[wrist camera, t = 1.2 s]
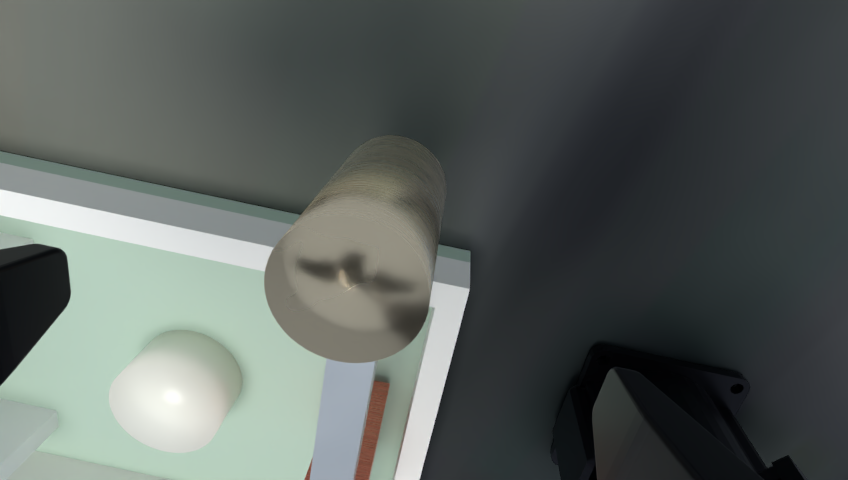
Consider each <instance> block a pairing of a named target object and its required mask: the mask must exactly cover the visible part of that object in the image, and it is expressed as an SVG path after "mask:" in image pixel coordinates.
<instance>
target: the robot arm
mask: <svg viewBox="0 0 848 480" xmlns="http://www.w3.org/2000/svg"><path fill="white" fill-rule="evenodd" d="M70 297H71V286H70V277H69V268H68V259H67V255H66V253H65V252H64V251H63V250H62V249H60V248H57V247H52V246H47V245H43V244H28V245H23V246H17V247H11V248H5V249H0V386H1V385H2V384H3V383H4V382H5V381H6V379H7V378H8V377H9V376H10V375H11V374H12V372H13V371H14V370H15V369H16V368H17V367H18V365H19V364H20V363H21V362H22V361H23V359H24V358H25V357H26V356H27V354H28V353H29V352H30V351H31V350H32V348H33V347H34V346H35V345H36V344H37V342H38V341H39V340H40V339H41V337H42V336H43V335H44V334H45V333H46V331H47V330H48V329H49V328H50V327H51V325H52V324H53V323H54V322H55V320H56V319H57V318H58V317H59V316H60V314H61V313H62V312H63V311H64V310H65V308H66V307H67V305H68V303H69V301H70ZM602 355H606V356H607V357H606V358H605V359H598V358H599V357H600V356H602ZM735 384H738V385H737V386H735V387H732V385H735ZM749 390H750V385H749V383H748V381H747V380H746V379H745V377H744V376H743V375H742V374H739V373H736V372H732V371H727V370H722V369H717V368H713V367H708V366H703V365H699V364H694V363H689V362H685V361H680V360H675V359H670V358H666V357H661V356H656V355H652V354H647V353H642V352H638V351H633V350H628V349H623V348H619V347H614V346H609V345H602V344H600V345H597V346H595V347H593V348H592V349H591V350H590V352H589V354H588V357H587V359H586V362H585V364H584V367H583V369H582V372H581V374H580V377H579V379H578V382H577V384H576V386H573V387H571V388H570V389H569V390H568V393H567V395H566V398H565V400H564V403H563V405H562V408H561V410H560V413H559V415H558V418H557V421H556V423H555V426H554V428H553V438H554V442H553V444H552V447H551V451H550V453H551V459H552V461H553V462H554V463H555V464H556V465H559V471H560V476H561V480H807V478H806V477H805V476H804V474H803V473H802V472H801V471H800V469H799V468H798V467H797V465H796V464H795V463H794V462H793V460H792V459H791V458H790V457H789V455H787V456H785V457H783V458H781V459H778V460H776V461H774V462H772V464H773V466H772V467H769V468H767V467H766V466H765V464H764V462H763V461H762V459H761V458H760V456H759V455H758V453H757V451H756V450H755V448H754V447H753V445H752V443H751V442H750V440H749V439H748V437H747V436H746V434H745V432H744V431H743V429H742V428H741V426H740V424H739V423H738V421H737V420H736V418H735V417H734V416H735V415H736V413H737V411H738V409H739V408H740V406H741V404H742V403H743V401H744V399H745V397H746V396H747V394H748V392H749Z"/></svg>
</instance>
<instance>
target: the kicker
mask: <svg viewBox="0 0 848 480" xmlns="http://www.w3.org/2000/svg"><path fill="white" fill-rule="evenodd" d="M445 198H446V179H445V175H444V172H443V169H442V167H441V165H440V163H439V162H438V160H437V159H436V157H435V156H434V155H433V154H432V153H431V152H430V151H429V150H428V149H427V148H426V147H425V146H423V145H422V144H420V143H418V142H417V141H414V140H412V139H410V138H406V137H403V136H396V135H387V136H380V137H376V138H373V139H371V140H368V141H366V142H365V143H363V144H361V145H360V146H359V147H358V148H356V149H355V151H354V152H353V153H352V154H351V155H350V156H349V157H348V159H347V160H346V161H345V162H344V163H343V165H342V166H341V167H340V168H339V169H338V171H337V172H336V173H335V174H334V175H333V177H332V178H331V179H330V180H329V181H328V183H327V184H326V185H325V186H324V188H323V189H322V190H321V191H320V192H319V194H318V195H317V196H316V197H315V198H314V200H313V201H312V202H311V203H310V204H309V206H308V207H307V208H306V209H305V210H304V212H303V213H302V214H301V215H300V216H299V218H298V219H297V220H296V221H295V222H294V224H293V225H292V226H291V227H290V229H289V230H288V231H287V232H286V233H285V235H284V236H283V237H282V238H281V239H280V241H279V242H278V243H277V245H276V246H275V247H274V249H273V250H272V252H271V254H270V256H269V258H268V261H267V265H266V268H265V275H264V289H265V295H266V299H267V303H268V306H269V308H270V310H271V312H272V315H273V316H274V318H275V320H276V321H277V323H278V324H279V325H280V327H281V328H282V329H283V331H284V332H285V333H286V334H287V335H288V336H289V337H290V338H291V339H293V340H294V341H295V342H296V343H298V344H299V345H300V346H302V347H304V348H305V349H307V350H308V351H310V352H312V353H314V354H316V355H319V356H321V357H324V358H327V359H326V366H325V373H324V380H323V387H322V394H321V402H320V409H319V416H318V423H317V430H316V437H315V445H314V452H313V457H312V460H311V463H310V466H309V468H308V471H307V474H306V477H305V480H370V476H371V471H372V467H373V462H374V458H375V453H376V448H377V444H378V439H379V434H380V429H381V424H382V420H383V415H384V410H385V405H386V400H387V396H388V391H389V386H390V384H389V383H385V382H380V381H375V380H374V378H375V373H376V368H377V362H378V360H381V359H384V358H387V357H389V356H392V355H394V354H396V353H397V352H399V351H401V350H402V349H404V348H405V347H406V346H407V345H409V344H410V343H411V342H412V341H413V340H414V339H415V338H416V336H417V335H418V333H419V332H420V331H421V329H422V327H423V325H424V323H425V321H426V318H427V315H428V311H429V304H430V297H431V291H432V284H433V278H434V271H435V264H436V258H437V251H438V245H439V238H440V231H441V225H442V218H443V211H444V205H445Z"/></svg>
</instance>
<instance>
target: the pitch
mask: <svg viewBox="0 0 848 480" xmlns="http://www.w3.org/2000/svg"><path fill="white" fill-rule="evenodd" d="M299 216H300V215H298V214H294V213H289V212H284V211H279V210H275V209H270V208H265V207H261V206H256V205H251V204H247V203H242V202H237V201H232V200H228V199H223V198H218V197H214V196H209V195H204V194H200V193H195V192H190V191H185V190H181V189H176V188H171V187H167V186H162V185H157V184H153V183H148V182H143V181H138V180H134V179H129V178H124V177H120V176H115V175H110V174H106V173H101V172H96V171H91V170H87V169H82V168H77V167H73V166H68V165H63V164H59V163H54V162H49V161H44V160H40V159H35V158H30V157H26V156H21V155H16V154H11V153H7V152H2V151H0V249H5V248H11V247H17V246H23V245H28V244H43V245H47V246H52V247H57V248H60V249H62V250H63V251H64V252H65V253H66V255H67V259H68V268H69V277H70V286H71V297H70V301H69V303H68V305H67V307H66V308H65V310H64V311H63V312H62V313H61V314H60V316H59V317H58V318H57V319H56V320H55V322H54V323H53V324H52V325H51V327H50V328H49V329H48V330H47V331H46V333H45V334H44V335H43V336H42V337H41V339H40V340H39V341H38V342H37V344H36V345H35V346H34V347H33V348H32V350H31V351H30V352H29V353H28V354H27V356H26V357H25V358H24V359H23V361H22V362H21V363H20V364H19V365H18V367H17V368H16V369H15V370H14V371H13V372H12V374H11V375H10V376H9V377H8V378H7V379H6V381H5V382H4V383H3V384H2V385H1V386H0V480H305V477H306V474H307V471H308V468H309V466H310V463H311V460H312V457H313V452H314V445H315V437H316V430H317V423H318V416H319V409H320V402H321V394H322V387H323V380H324V373H325V366H326V359H327V358H324V357H321V356H319V355H316V354H314V353H312V352H310V351H308V350H307V349H305V348H304V347H302V346H300V345H299V344H298V343H296V342H295V341H294V340H293V339H291V338H290V337H289V336H288V335H287V334H286V333H285V332H284V331H283V329H282V328H281V327H280V325H279V324H278V323H277V321H276V320H275V318H274V316H273V315H272V312H271V310H270V308H269V306H268V303H267V299H266V295H265V289H264V275H265V268H266V265H267V261H268V258H269V256H270V254H271V252H272V250H273V249H274V247H275V246H276V245H277V243H278V242H279V241H280V239H281V238H282V237H283V236H284V235H285V233H286V232H287V231H288V230H289V229H290V227H291V226H292V225H293V224H294V222H295V221H296V220H297V219H298V218H299ZM470 252H471V251H468V250H463V249H458V248H453V247H449V246H444V245H438V251H437V258H436V264H435V271H434V278H433V284H432V291H431V297H430V304H429V311H428V315H427V318H426V321H425V323H424V325H423V327H422V329H421V331H420V332H419V333H418V335H417V336H416V338H415V339H414V340H413V341H412V342H411V343H410V344H409V345H407V346H406V347H405V348H404V349H402V350H401V351H399V352H397V353H396V354H394V355H392V356H389V357H387V358H384V359H381V360H378V362H377V368H376V373H375V378H374V380H375V381H380V382H385V383H389V384H390V386H389V391H388V396H387V400H386V405H385V410H384V415H383V420H382V424H381V429H380V434H379V439H378V444H377V448H376V453H375V458H374V462H373V467H372V471H371V476H370V480H419V479H420V476H421V472H422V468H423V464H424V461H425V457H426V453H427V449H428V445H429V442H430V438H431V434H432V430H433V427H434V423H435V419H436V415H437V411H438V408H439V404H440V400H441V396H442V393H443V389H444V385H445V381H446V377H447V374H448V370H449V366H450V362H451V359H452V355H453V351H454V347H455V343H456V340H457V336H458V332H459V328H460V325H461V321H462V317H463V313H464V309H465V306H466V302H467V298H468V294H469V291H470ZM173 330H188V331H194V332H198V333H201V334H204V335H206V336H208V337H210V338H212V339H214V340H216V341H217V342H219V343H220V344H221V345H223V346H224V347H225V348H226V349H227V350H228V351H229V352H230V353H231V354H232V355H233V357H234V358H235V360H236V361H237V363H238V365H239V367H240V370H241V374H242V389H241V392H240V394H239V396H238V398H237V399H236V401H235V403H234V404H233V406H232V407H231V409H230V411H229V412H228V414H227V416H226V417H225V419H224V421H223V422H222V424H221V426H220V427H219V429H218V431H217V432H216V434H215V436H214V437H213V439H212V440H211V441H210V442H209V443H208V444H207V445H205V446H204V447H202V448H200V449H198V450H195V451H192V452H186V453H171V452H165V451H161V450H157V449H154V448H151V447H149V446H147V445H145V444H143V443H141V442H139V441H138V440H136V439H135V438H133V437H132V436H131V435H130V434H128V433H127V432H126V431H125V430H124V429H123V428H122V427H121V426H120V424H119V423H118V422H117V420H116V419H115V417H114V415H113V413H112V411H111V408H110V404H109V390H110V387H111V384H112V382H113V381H114V379H115V378H116V377H117V376H118V375H119V374H120V373H121V372H122V371H123V370H124V369H125V368H126V367H127V366H128V365H129V364H130V362H131V361H132V360H133V359H134V358H135V357H136V356H137V355H138V354H139V353H140V352H141V351H142V350H143V349H144V348H145V347H146V346H147V345H148V344H149V343H150V342H151V341H152V340H153V339H154V338H155V337H157V336H158V335H160V334H162V333H165V332H168V331H173Z"/></svg>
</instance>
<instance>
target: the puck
mask: <svg viewBox="0 0 848 480" xmlns="http://www.w3.org/2000/svg"><path fill="white" fill-rule="evenodd" d="M241 389H242V374H241V370H240V367H239V365H238V363H237V361H236V360H235V358H234V357H233V355H232V354H231V353H230V352H229V351H228V350H227V349H226V348H225V347H224V346H223V345H221V344H220V343H219V342H217V341H216V340H214V339H212V338H210V337H208V336H206V335H204V334H201V333H198V332H194V331H188V330H173V331H168V332H165V333H162V334H160V335H158V336H157V337H155V338H154V339H153V340H152V341H151V342H150V343H149V344H148V345H147V346H146V347H145V348H144V349H143V350H142V351H141V352H140V353H139V354H138V355H137V356H136V357H135V358H134V359H133V360H132V361H131V362H130V364H129V365H128V366H127V367H126V368H125V369H124V370H123V371H122V372H121V373H120V374H119V375H118V376H117V377H116V378H115V379H114V381H113V382H112V384H111V387H110V390H109V404H110V408H111V411H112V413H113V415H114V417H115V419H116V420H117V422H118V423H119V424H120V426H121V427H122V428H123V429H124V430H125V431H126V432H127V433H128V434H130V435H131V436H132V437H133V438H135V439H136V440H138V441H139V442H141V443H143V444H145V445H147V446H149V447H151V448H154V449H157V450H161V451H165V452H171V453H186V452H192V451H195V450H198V449H200V448H202V447H204V446H205V445H207V444H208V443H209V442H210V441H211V440H212V439H213V437H214V436H215V434H216V432H217V431H218V429H219V427H220V426H221V424H222V422H223V421H224V419H225V417H226V416H227V414H228V412H229V411H230V409H231V407H232V406H233V404H234V403H235V401H236V399H237V398H238V396H239V394H240V392H241Z"/></svg>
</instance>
